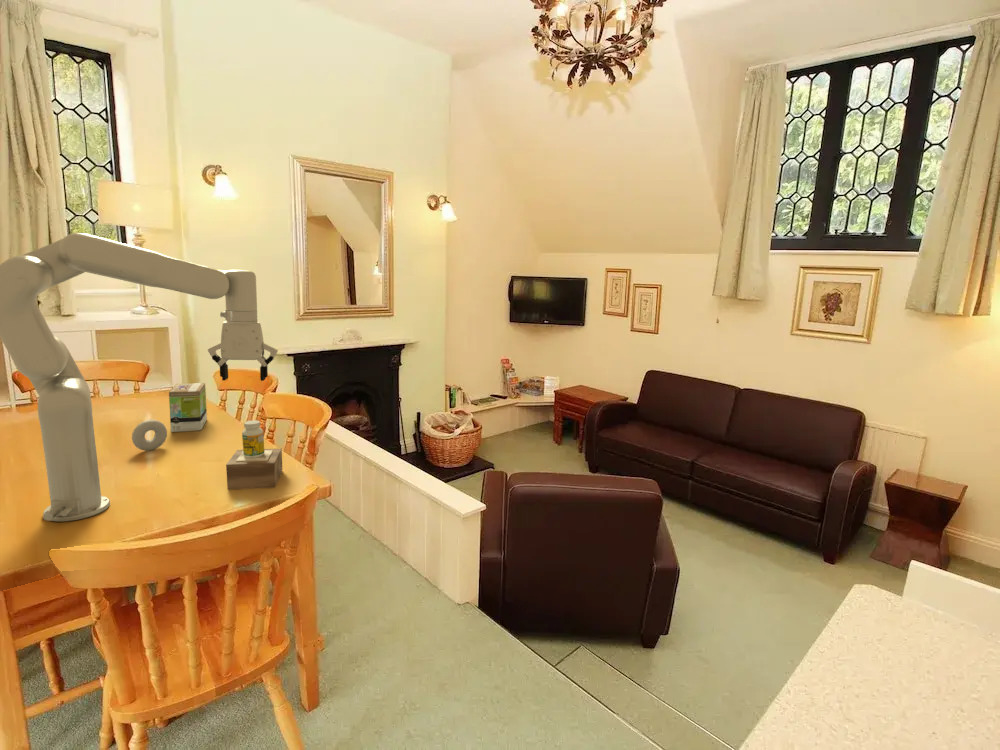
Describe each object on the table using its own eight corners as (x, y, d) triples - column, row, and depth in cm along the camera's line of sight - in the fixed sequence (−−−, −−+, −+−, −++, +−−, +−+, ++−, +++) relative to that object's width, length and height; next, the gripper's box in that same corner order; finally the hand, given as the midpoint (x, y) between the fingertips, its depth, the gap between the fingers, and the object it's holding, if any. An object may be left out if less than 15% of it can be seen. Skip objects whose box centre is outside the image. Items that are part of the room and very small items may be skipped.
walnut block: (275, 487, 148) (274, 461, 147) (227, 489, 146) (226, 463, 144) (282, 471, 160) (281, 447, 158) (238, 472, 157) (237, 448, 156)
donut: (136, 455, 167) (133, 424, 166) (131, 453, 169) (128, 422, 167) (170, 447, 176) (168, 417, 174) (165, 445, 178) (162, 415, 176)
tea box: (202, 430, 194) (199, 390, 191) (170, 432, 190) (167, 391, 187) (207, 419, 208) (205, 381, 205) (177, 421, 204) (174, 382, 201)
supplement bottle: (268, 453, 153) (266, 420, 152) (257, 459, 148) (255, 425, 146) (251, 451, 154) (249, 418, 152) (239, 457, 149) (237, 424, 147)
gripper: (202, 317, 139) (205, 382, 143) (273, 319, 143) (275, 382, 146) (211, 314, 147) (214, 376, 150) (279, 316, 150) (280, 377, 153)
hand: (244, 379), depth 148 cm, fingers open, 9 cm apart
